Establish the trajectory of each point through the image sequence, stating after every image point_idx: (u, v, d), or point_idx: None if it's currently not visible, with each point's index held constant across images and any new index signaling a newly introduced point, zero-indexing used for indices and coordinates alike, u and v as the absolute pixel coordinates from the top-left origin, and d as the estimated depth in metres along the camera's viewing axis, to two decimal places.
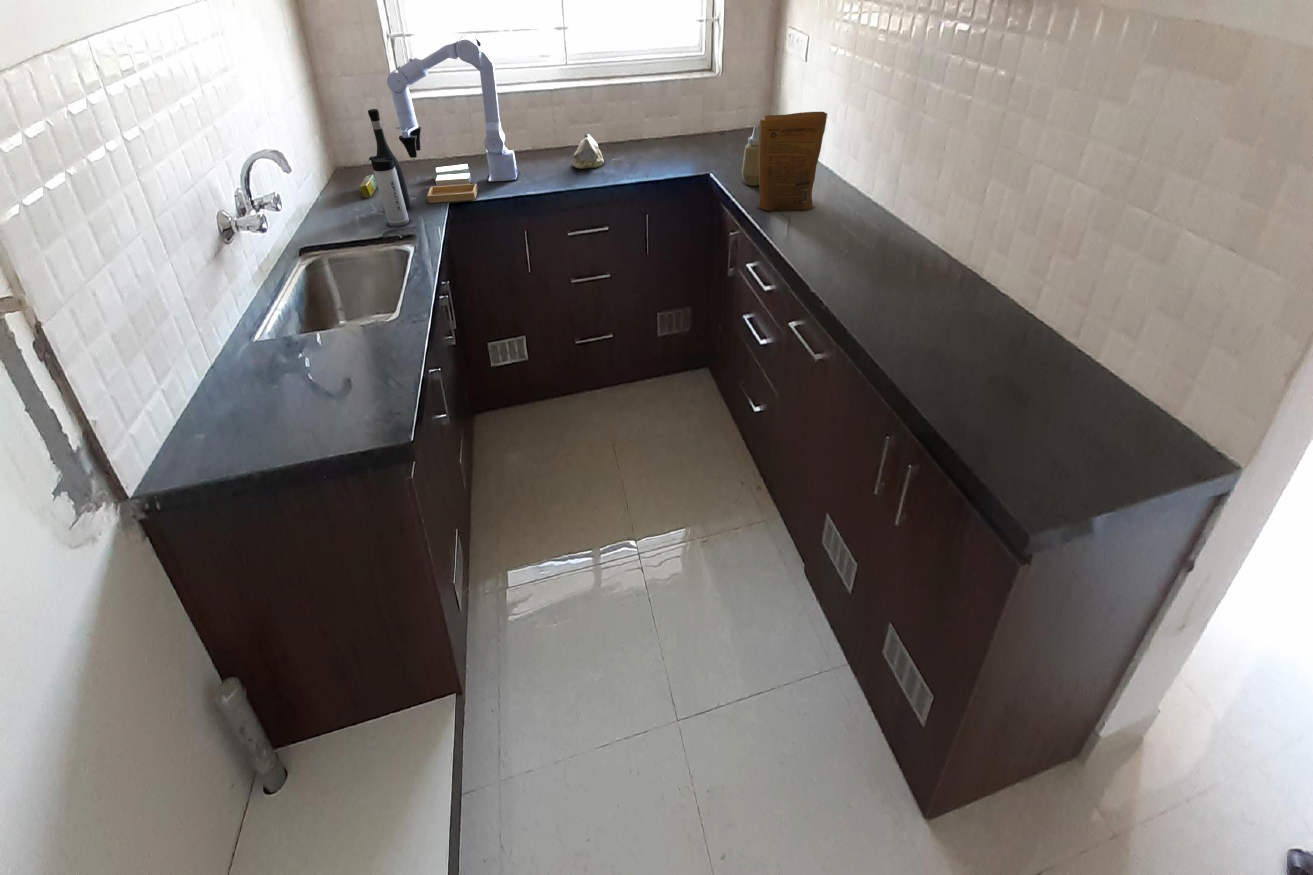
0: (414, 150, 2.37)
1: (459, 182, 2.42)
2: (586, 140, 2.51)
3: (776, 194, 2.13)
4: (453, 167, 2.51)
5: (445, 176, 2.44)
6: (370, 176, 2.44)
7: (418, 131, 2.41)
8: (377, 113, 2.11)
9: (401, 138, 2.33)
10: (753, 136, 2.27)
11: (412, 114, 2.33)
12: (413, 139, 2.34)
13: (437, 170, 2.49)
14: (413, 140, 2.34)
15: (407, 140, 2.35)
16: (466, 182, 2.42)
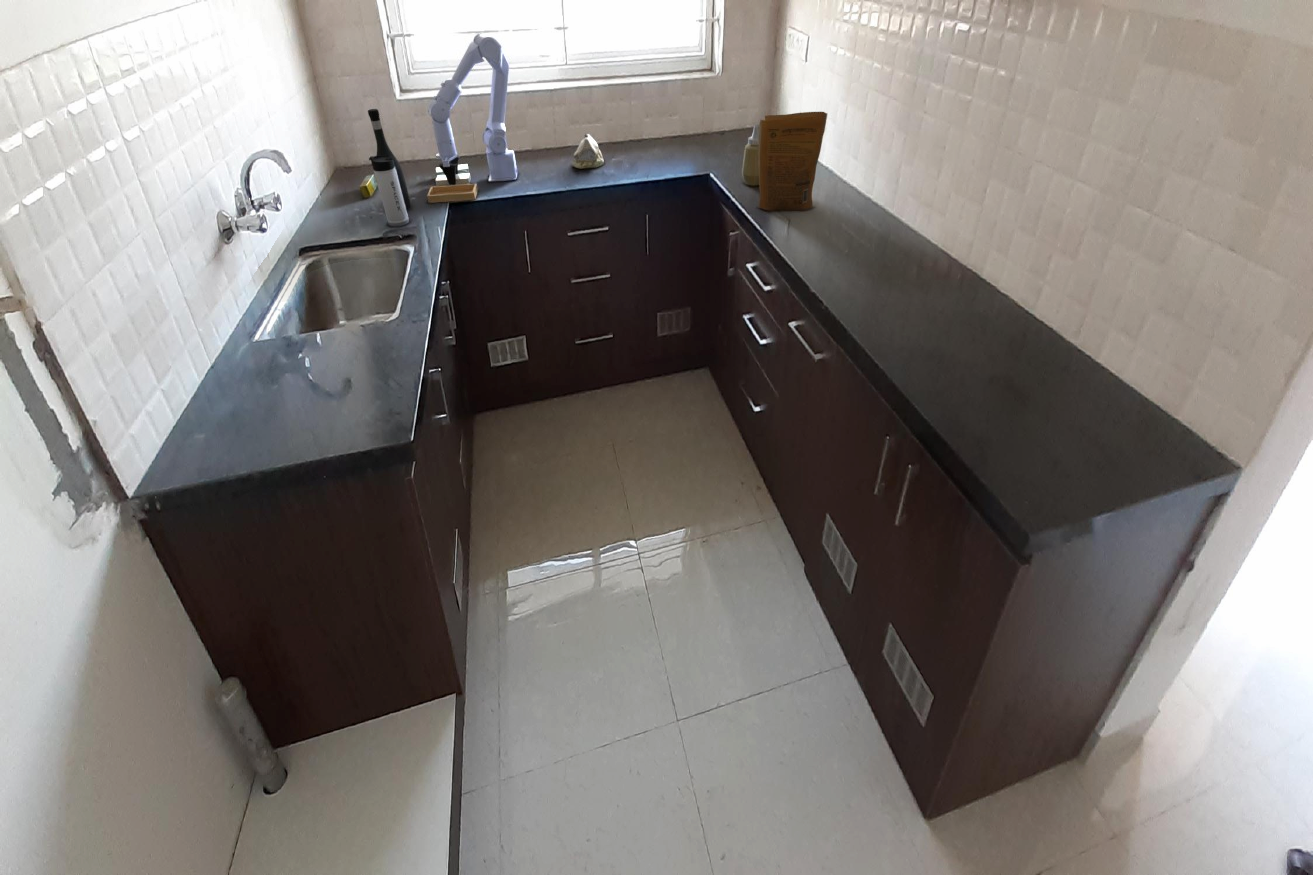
0: (454, 178, 2.40)
1: (459, 182, 2.42)
2: (586, 140, 2.51)
3: (776, 194, 2.13)
4: None
5: (445, 176, 2.44)
6: (370, 176, 2.44)
7: (456, 160, 2.42)
8: (377, 113, 2.11)
9: (441, 166, 2.36)
10: (753, 136, 2.27)
11: (452, 143, 2.35)
12: (453, 167, 2.36)
13: (437, 170, 2.49)
14: (453, 168, 2.37)
15: (447, 168, 2.38)
16: (466, 182, 2.42)
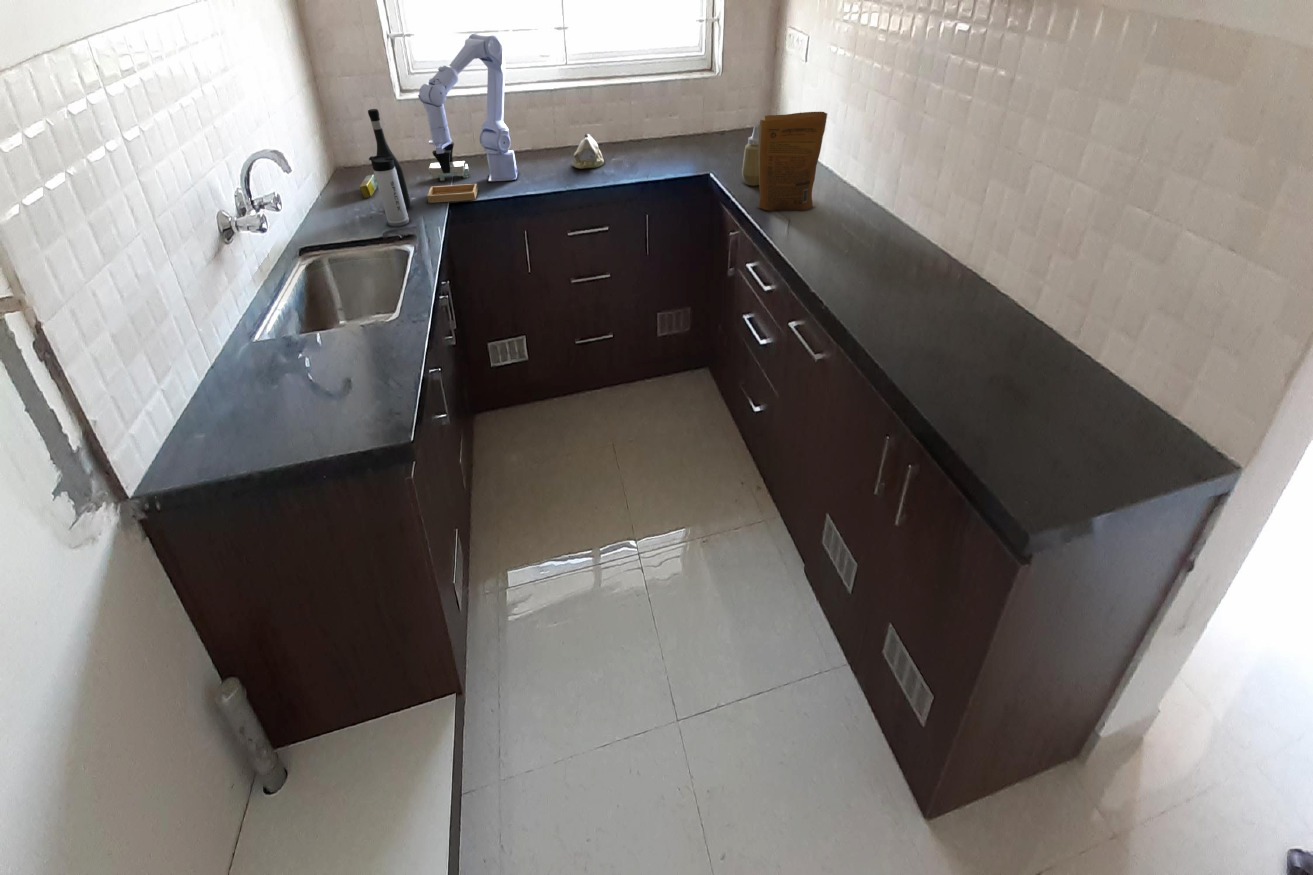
0: (448, 165, 2.28)
1: (453, 170, 2.30)
2: (586, 140, 2.51)
3: (776, 194, 2.13)
4: None
5: (438, 164, 2.32)
6: (370, 176, 2.44)
7: (450, 147, 2.31)
8: (377, 113, 2.11)
9: (435, 153, 2.24)
10: (753, 136, 2.27)
11: (446, 129, 2.23)
12: (447, 154, 2.25)
13: None
14: (447, 155, 2.25)
15: (441, 155, 2.26)
16: (461, 170, 2.30)
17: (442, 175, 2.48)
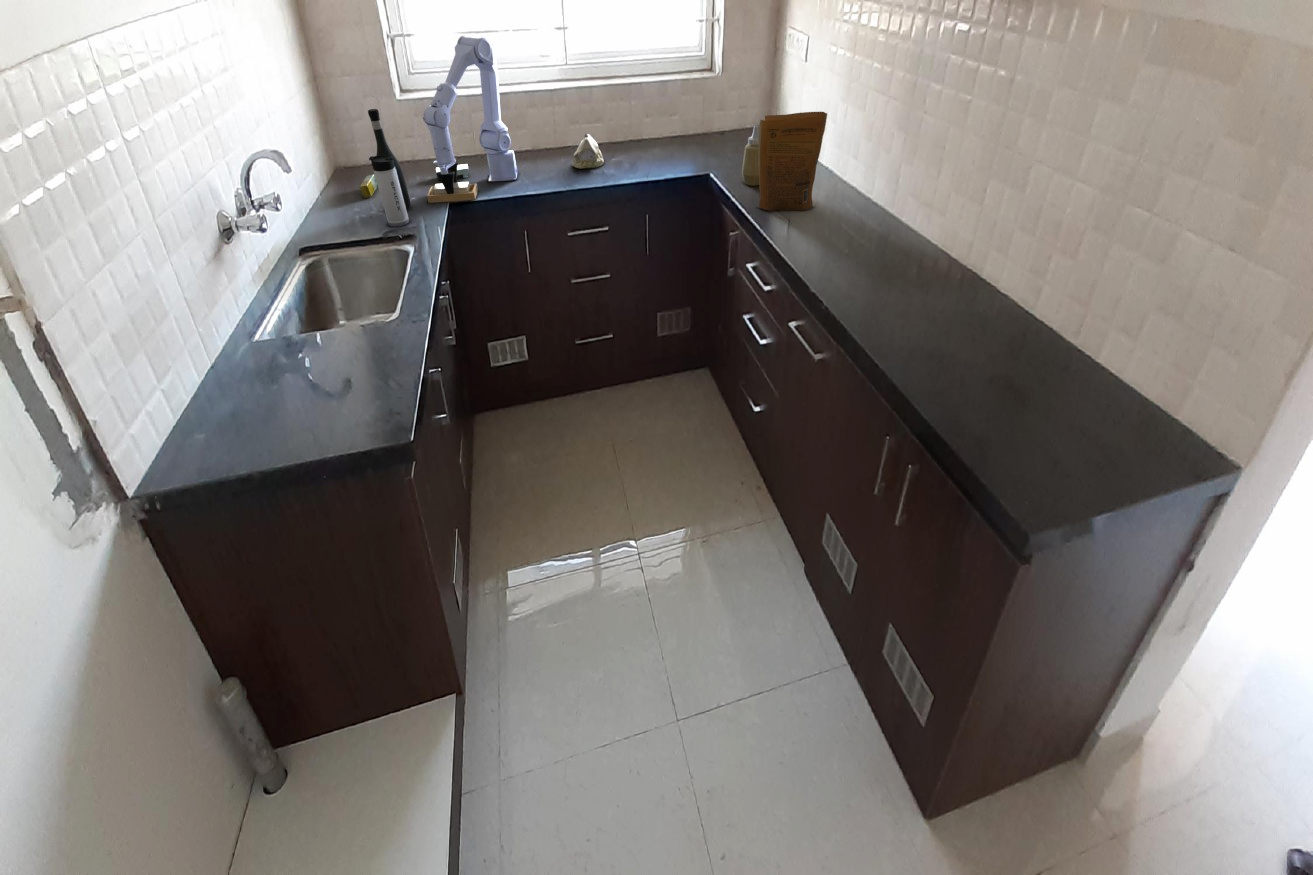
0: (451, 186, 2.31)
1: (457, 191, 2.33)
2: (586, 140, 2.51)
3: (776, 194, 2.13)
4: None
5: None
6: (371, 176, 2.44)
7: (454, 166, 2.35)
8: (377, 113, 2.11)
9: (439, 174, 2.26)
10: (753, 136, 2.27)
11: (450, 150, 2.26)
12: (451, 175, 2.27)
13: (437, 170, 2.49)
14: (451, 176, 2.27)
15: (445, 176, 2.29)
16: (465, 191, 2.34)
17: None
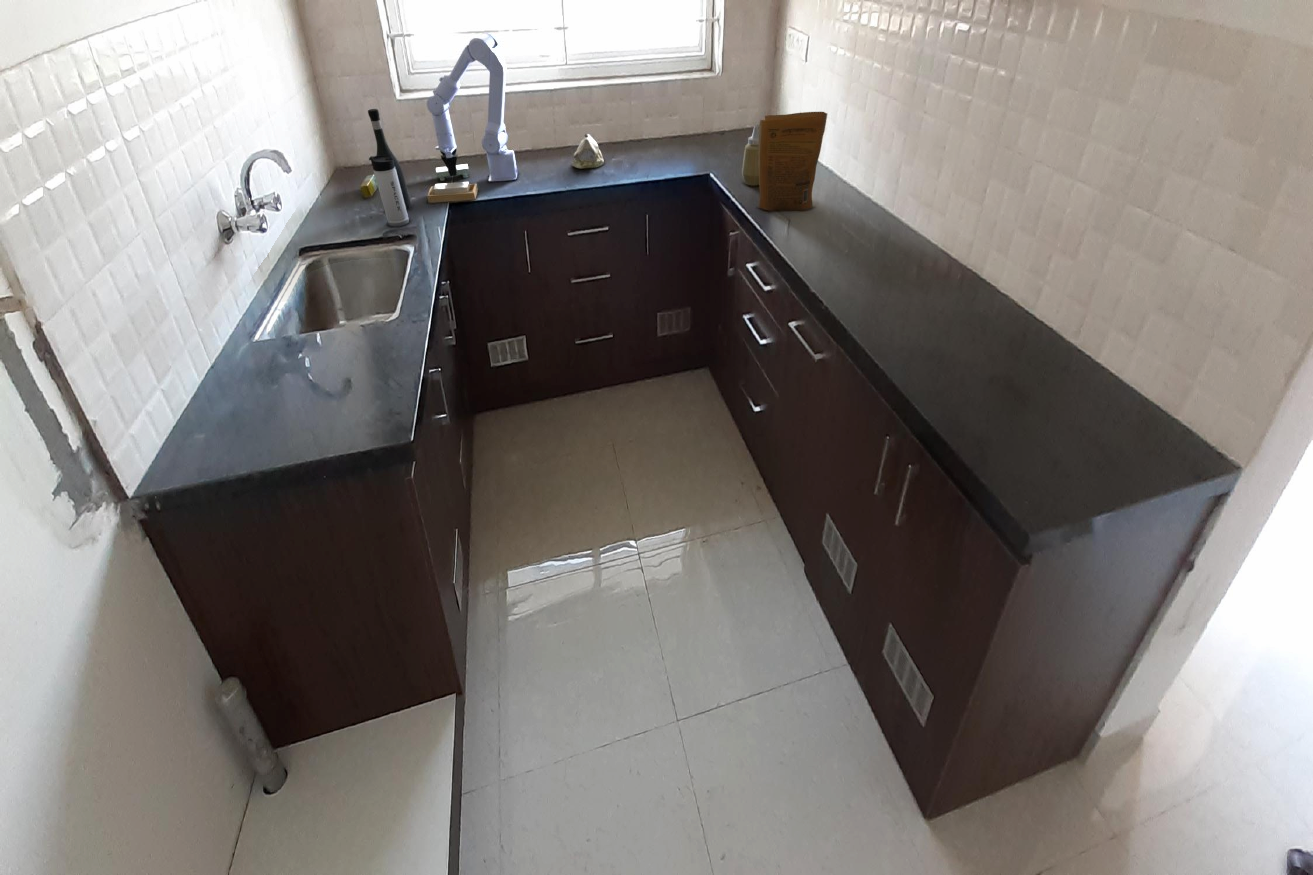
0: (454, 168, 2.47)
1: (457, 191, 2.33)
2: (586, 140, 2.51)
3: (776, 194, 2.13)
4: None
5: (443, 184, 2.35)
6: (371, 176, 2.44)
7: (453, 152, 2.50)
8: (377, 113, 2.11)
9: (444, 158, 2.43)
10: (753, 136, 2.27)
11: (452, 135, 2.43)
12: (455, 158, 2.44)
13: (437, 170, 2.49)
14: (455, 159, 2.44)
15: (448, 159, 2.45)
16: (465, 191, 2.34)
17: (442, 175, 2.48)
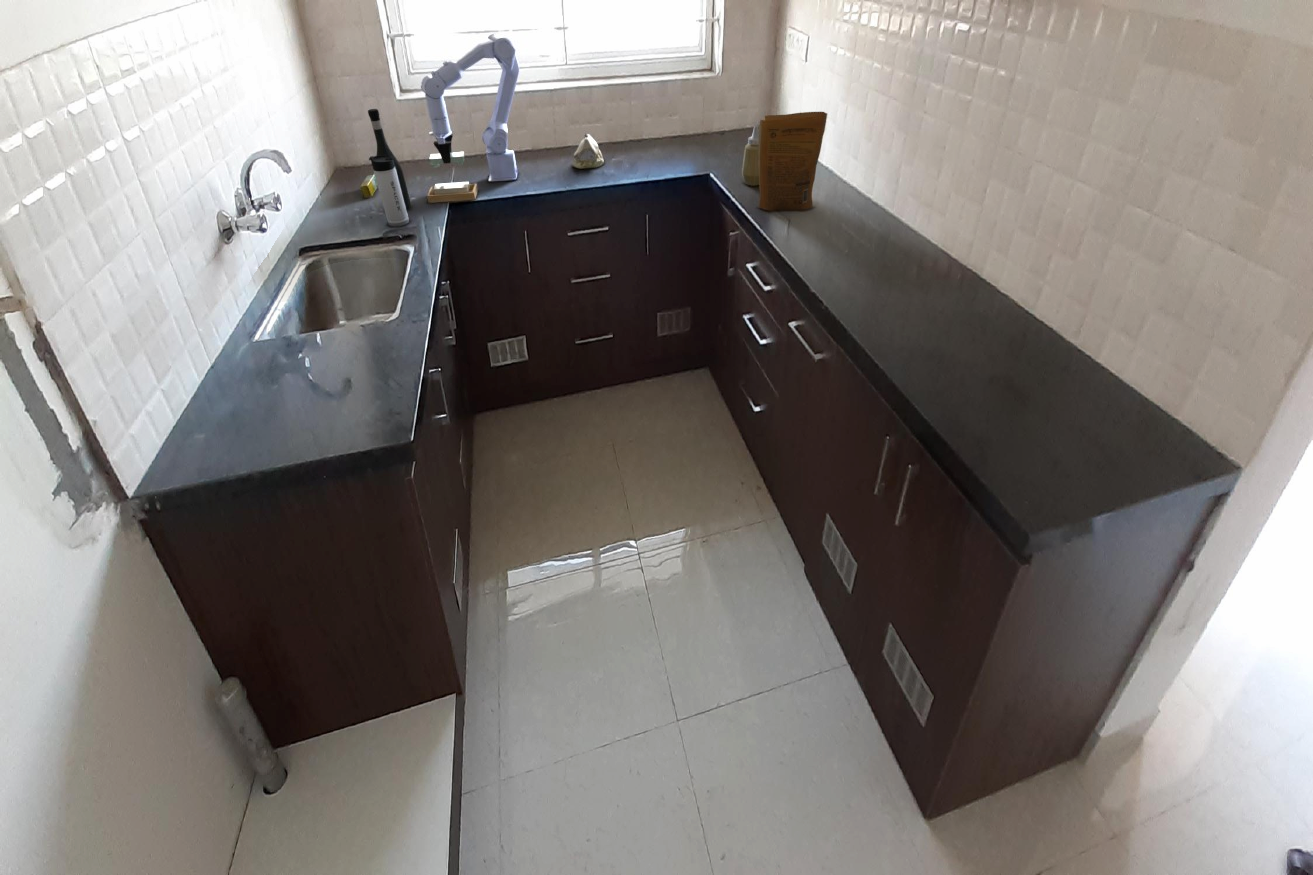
0: (448, 156, 2.35)
1: (457, 191, 2.33)
2: (586, 140, 2.51)
3: (776, 194, 2.13)
4: None
5: (443, 184, 2.35)
6: (371, 176, 2.44)
7: (449, 138, 2.37)
8: (377, 113, 2.11)
9: (436, 144, 2.30)
10: (753, 136, 2.27)
11: (446, 120, 2.30)
12: (448, 145, 2.31)
13: (431, 157, 2.36)
14: (448, 146, 2.31)
15: (442, 146, 2.33)
16: (465, 191, 2.34)
17: (435, 162, 2.36)
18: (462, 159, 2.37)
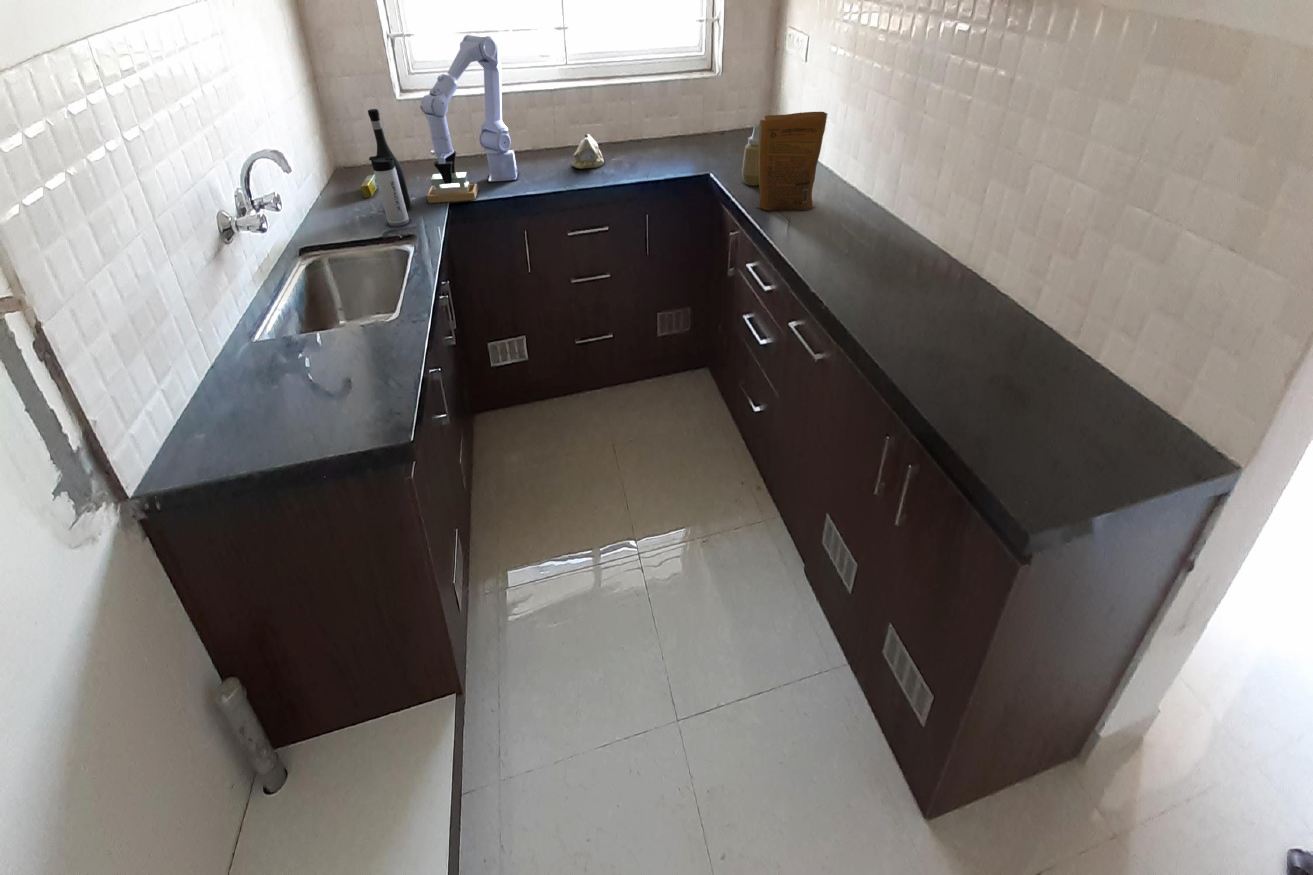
0: (449, 176, 2.29)
1: (457, 191, 2.33)
2: (586, 140, 2.51)
3: (776, 194, 2.13)
4: (451, 174, 2.33)
5: (443, 184, 2.35)
6: (371, 176, 2.44)
7: (452, 156, 2.33)
8: (377, 113, 2.11)
9: (436, 164, 2.24)
10: (753, 136, 2.27)
11: (448, 139, 2.24)
12: (449, 165, 2.25)
13: (432, 177, 2.32)
14: (449, 166, 2.25)
15: (442, 166, 2.27)
16: (465, 191, 2.34)
17: (437, 183, 2.31)
18: (464, 180, 2.31)
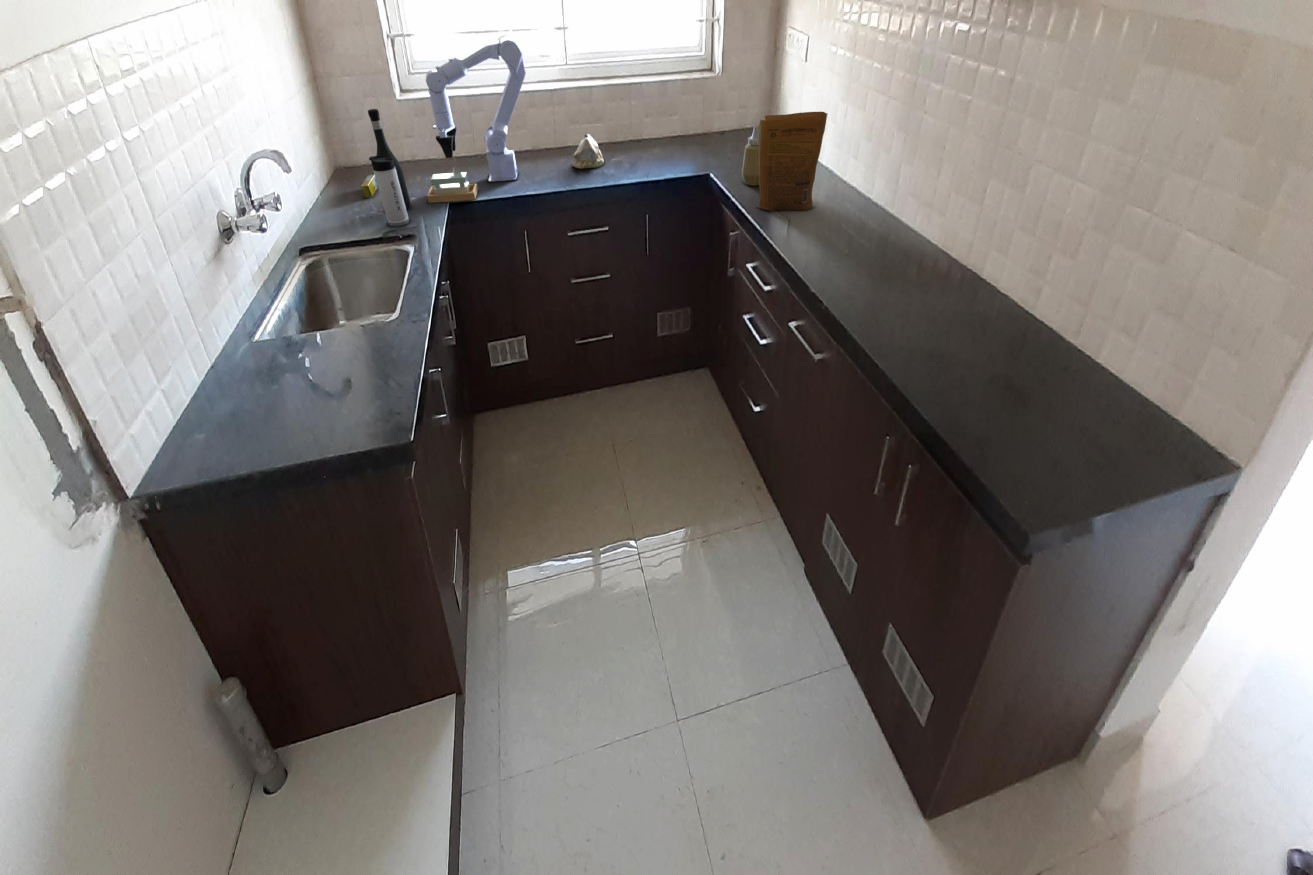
0: (450, 150, 2.36)
1: (457, 191, 2.33)
2: (586, 140, 2.51)
3: (776, 194, 2.13)
4: (451, 174, 2.33)
5: (443, 184, 2.35)
6: (372, 176, 2.44)
7: (453, 131, 2.40)
8: (377, 113, 2.11)
9: (438, 138, 2.32)
10: (753, 136, 2.27)
11: (449, 114, 2.32)
12: (450, 139, 2.32)
13: (432, 177, 2.32)
14: (450, 140, 2.33)
15: (444, 140, 2.34)
16: (465, 191, 2.34)
17: (437, 183, 2.31)
18: (464, 180, 2.31)
